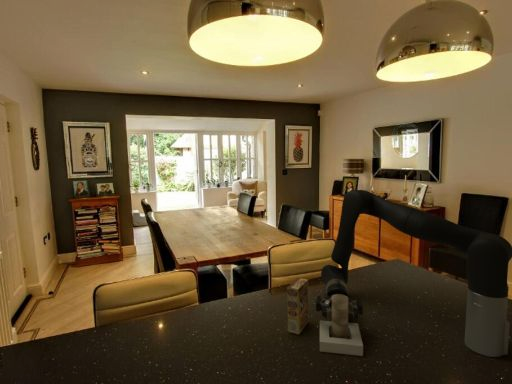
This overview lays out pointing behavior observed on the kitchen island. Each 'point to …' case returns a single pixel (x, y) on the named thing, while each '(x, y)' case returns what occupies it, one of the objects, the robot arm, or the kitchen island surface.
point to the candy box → (297, 305)
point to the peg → (340, 316)
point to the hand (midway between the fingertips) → (340, 316)
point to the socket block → (340, 340)
